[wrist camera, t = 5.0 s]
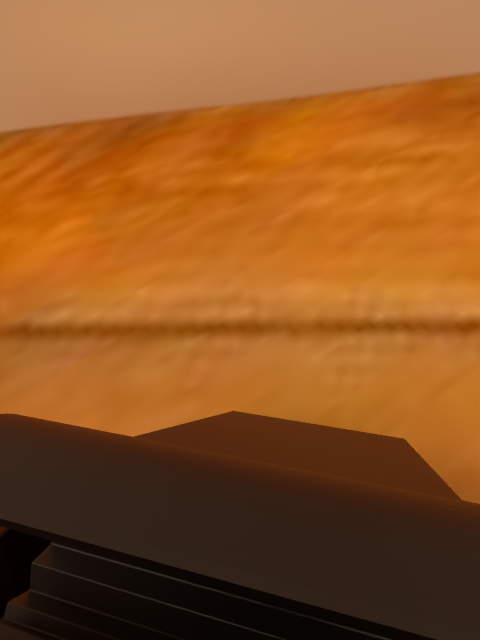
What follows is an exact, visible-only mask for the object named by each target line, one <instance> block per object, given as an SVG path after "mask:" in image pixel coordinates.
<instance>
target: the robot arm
mask: <svg viewBox="0 0 480 640" xmlns="http://www.w3.org/2000/svg"><path fill="white" fill-rule="evenodd" d="M50 544H51V541H50V540H48V539H44V538H40V537H37V536H33V535H30V534H26V533H23V532H19V531H16V530H12V529H9V528H5V527H2V526H0V619H2V618H3V617H4V614H5V610H6V607H7V603H8V602H9V601H10V600H12V599H14V598H16V597H17V596H19V595H21V594H23V593H25V592H27V591H28V590H29V589H30V577H31V564H32V562H33V561H34V560H35V559H36V558H37V557H38V556H39V555H40V554H41V553H42V552H43V551H44V550H45V549H46V548H47V547H48V546H49V545H50Z"/></svg>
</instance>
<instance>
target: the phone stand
mask: <svg viewBox="0 0 480 640" xmlns="http://www.w3.org/2000/svg"><path fill="white" fill-rule="evenodd" d="M0 526H2V527H5V528H9V529H12V530H16V531H19V532H23V533H26V534H30V535H33V536H37V537H40V538H44V539H48V540H50V541H51V544H50V545H49V546H48V547H47V548H46V549H45V550H44V551H43V552H42V553H41V554H40V555H39V556H38V557H37V558H36V559H35V560H34V561H33V562H32V564H31V577H30V589H29V590H28V591H27V592H25V593H23V594H21V595H19V596H17V597H16V598H14V599H12V600H10V601H9V602H8V603H7V607H6V610H5V614H4V617H3V618H2V619H0V640H480V504H477V503H472V502H466V501H462V500H461V499H460V498H459V497H458V496H457V495H456V493H455V492H454V491H453V490H452V489H451V488H450V487H449V486H448V485H447V484H446V483H445V482H444V481H443V480H442V479H441V477H440V476H439V475H438V474H437V473H436V472H435V471H434V470H433V469H432V468H431V467H430V466H429V465H428V464H427V463H426V461H425V460H424V459H423V458H422V457H421V456H420V455H419V454H418V453H417V452H416V451H415V450H414V449H413V448H412V447H411V445H410V444H409V443H408V442H407V441H406V440H405V439H401V438H395V437H389V436H383V435H377V434H371V433H365V432H359V431H353V430H346V429H340V428H334V427H328V426H322V425H316V424H310V423H304V422H298V421H291V420H285V419H279V418H273V417H267V416H261V415H255V414H249V413H243V412H236V411H232V412H228V413H224V414H220V415H216V416H212V417H208V418H205V419H201V420H197V421H193V422H189V423H185V424H181V425H177V426H173V427H170V428H166V429H162V430H158V431H154V432H150V433H146V434H142V435H139V436H135V437H131V436H126V435H120V434H115V433H110V432H105V431H100V430H95V429H89V428H84V427H79V426H74V425H69V424H64V423H58V422H53V421H48V420H43V419H38V418H33V417H27V416H22V415H17V414H0Z"/></svg>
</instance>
